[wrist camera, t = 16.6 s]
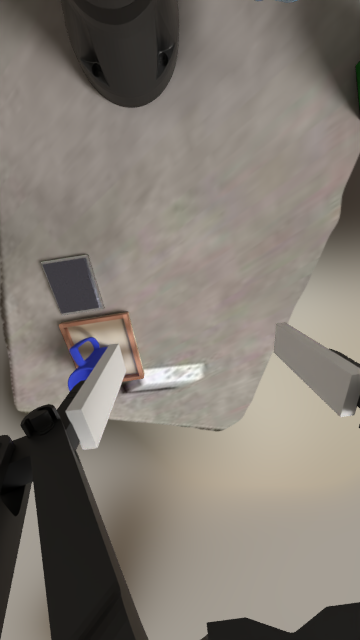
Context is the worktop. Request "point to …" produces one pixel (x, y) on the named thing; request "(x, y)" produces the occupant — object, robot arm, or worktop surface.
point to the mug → (84, 361)
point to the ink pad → (73, 284)
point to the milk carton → (358, 79)
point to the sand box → (106, 339)
